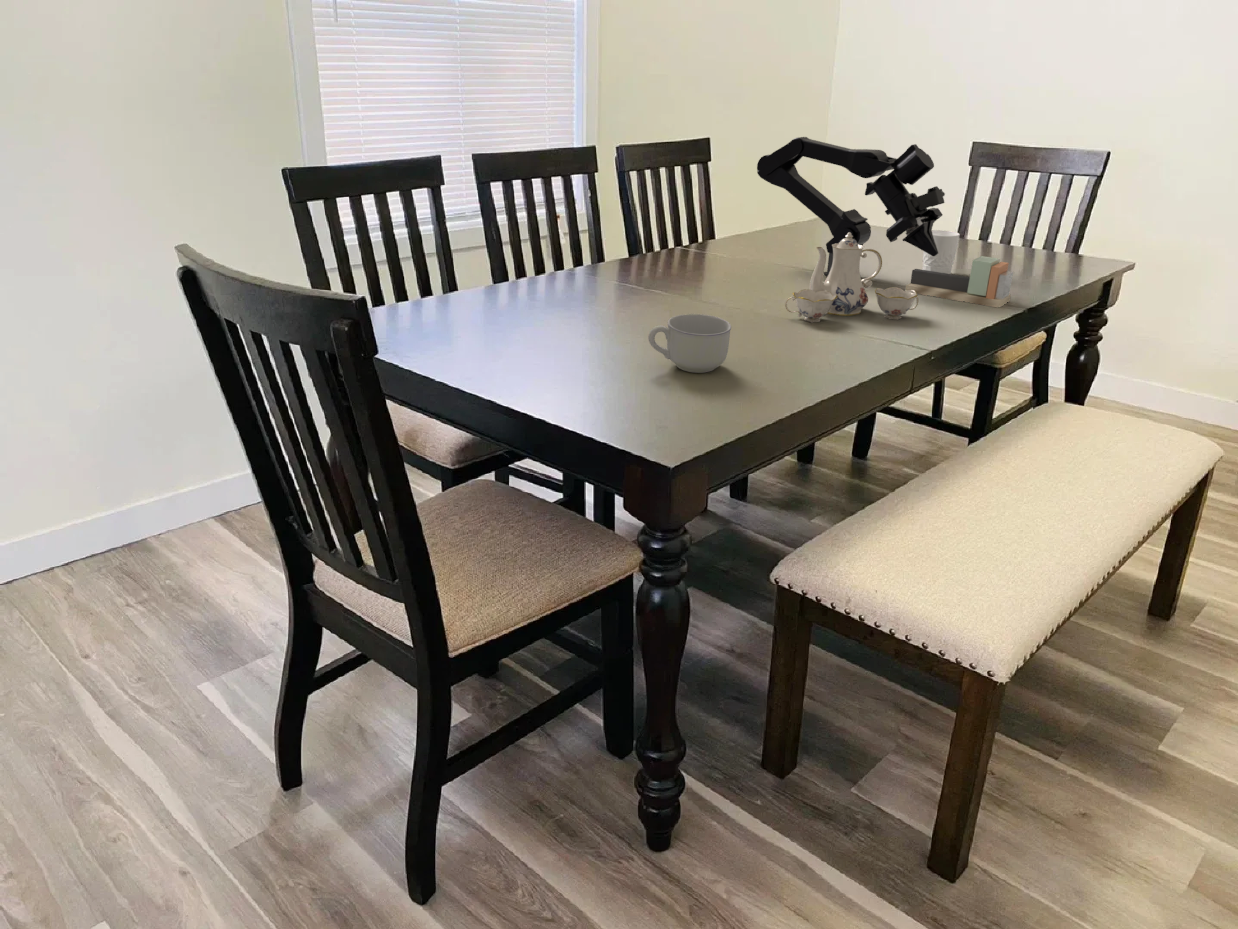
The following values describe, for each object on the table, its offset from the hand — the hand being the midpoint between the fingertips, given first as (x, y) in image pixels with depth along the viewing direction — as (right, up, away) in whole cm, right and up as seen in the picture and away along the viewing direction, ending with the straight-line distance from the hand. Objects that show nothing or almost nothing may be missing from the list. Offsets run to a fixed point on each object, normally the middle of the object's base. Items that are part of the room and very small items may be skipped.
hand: (936, 254), depth 205 cm
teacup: (-59, -30, -48) cm, 82 cm away
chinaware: (-24, -16, -15) cm, 32 cm away
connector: (+12, -10, -6) cm, 17 cm away
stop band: (+11, -10, -5) cm, 16 cm away
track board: (+5, -9, 0) cm, 10 cm away
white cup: (+7, 0, +21) cm, 22 cm away
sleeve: (+9, -9, -3) cm, 13 cm away
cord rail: (+4, -8, 0) cm, 9 cm away
